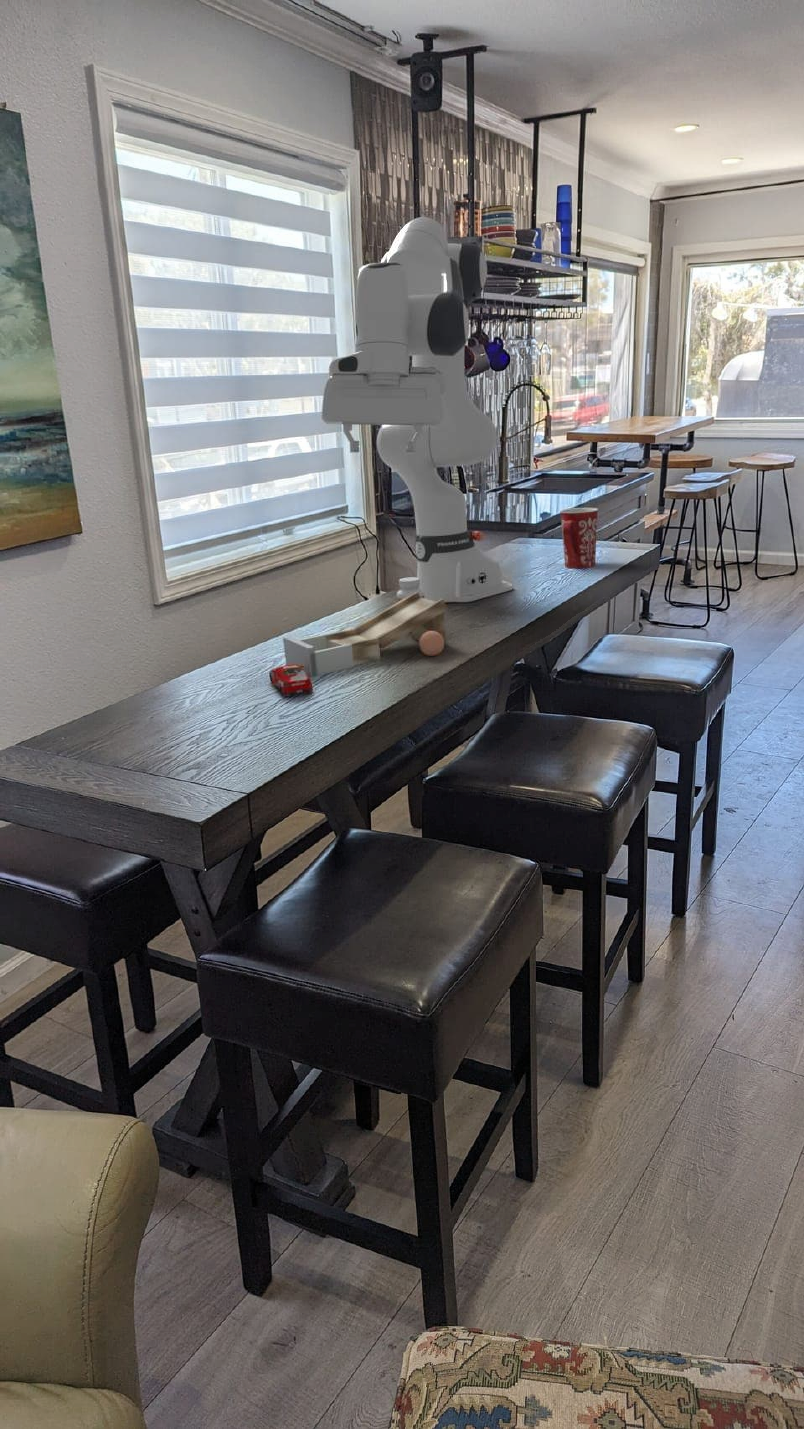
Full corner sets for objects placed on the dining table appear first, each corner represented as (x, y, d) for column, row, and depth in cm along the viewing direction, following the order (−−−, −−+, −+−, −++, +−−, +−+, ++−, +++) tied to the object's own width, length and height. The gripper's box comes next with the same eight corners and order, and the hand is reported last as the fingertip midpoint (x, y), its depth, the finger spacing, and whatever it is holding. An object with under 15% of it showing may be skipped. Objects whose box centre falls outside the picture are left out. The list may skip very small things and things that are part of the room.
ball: (436, 650, 177) (434, 626, 175) (449, 655, 173) (448, 631, 172) (415, 655, 175) (413, 631, 173) (428, 660, 171) (426, 635, 169)
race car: (267, 681, 168) (265, 658, 166) (298, 676, 169) (296, 653, 168) (282, 702, 156) (279, 677, 154) (316, 696, 157) (313, 672, 156)
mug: (571, 561, 246) (569, 507, 242) (604, 562, 241) (604, 507, 237) (548, 571, 237) (546, 514, 232) (582, 573, 231) (581, 515, 227)
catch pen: (327, 655, 179) (324, 628, 178) (353, 666, 171) (351, 639, 169) (286, 664, 175) (282, 637, 174) (311, 676, 167) (307, 648, 165)
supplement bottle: (423, 630, 191) (420, 581, 188) (396, 631, 192) (392, 582, 189) (428, 623, 196) (425, 575, 193) (402, 624, 197) (398, 576, 194)
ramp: (422, 634, 188) (419, 590, 185) (449, 643, 180) (446, 598, 177) (327, 655, 179) (322, 610, 176) (351, 666, 171) (346, 618, 168)
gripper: (441, 371, 166) (441, 455, 168) (320, 368, 164) (321, 454, 166) (447, 363, 160) (447, 451, 162) (321, 361, 158) (323, 450, 160)
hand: (382, 452), depth 164 cm, fingers open, 8 cm apart
